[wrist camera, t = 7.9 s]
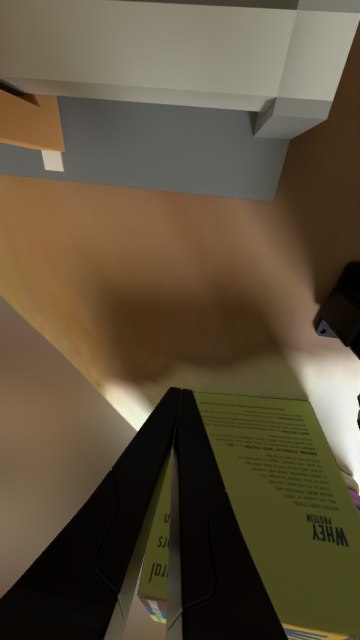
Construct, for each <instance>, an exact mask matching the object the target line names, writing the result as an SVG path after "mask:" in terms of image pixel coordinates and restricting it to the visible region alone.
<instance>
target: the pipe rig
mask: <svg viewBox="0 0 360 640" xmlns="http://www.w3.org/2000/svg"><path fill="white" fill-rule="evenodd" d="M359 20H360V0H0V89H1V90H3V91H5V92H8V93H10V94H12V95H14V96H24V95H23V93H31V94H43V95H56V96H57V101H58V108H59V114H60V120H61V127H62V133H63V140H64V146H65V152H60V151H50V150H39V149H31V148H26V147H21V146H16V145H11V144H6V143H1V142H0V174H4V175H13V176H23V177H33V178H43V179H53V180H63V181H73V182H82V183H92V184H102V185H112V186H122V187H132V188H142V189H152V190H161V191H171V192H181V193H191V194H201V195H211V196H221V197H230V198H240V199H250V200H260V201H270V202H273V201H274V197H275V194H276V190H277V186H278V183H279V179H280V175H281V172H282V168H283V164H284V161H285V157H286V153H287V150H288V146H289V142H290V140H291V139H293V138H295V137H296V136H298V135H300V134H302V133H303V132H305V131H307V130H309V129H311V128H312V127H314V126H316V125H318V124H319V123H321V122H323V121H325V120H327V117H328V114H329V111H330V108H331V105H332V102H333V99H334V96H335V93H336V90H337V87H338V84H339V81H340V78H341V75H342V72H343V69H344V66H345V63H346V60H347V57H348V54H349V51H350V48H351V45H352V42H353V39H354V36H355V33H356V29H357V26H358V23H359Z"/></svg>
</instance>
